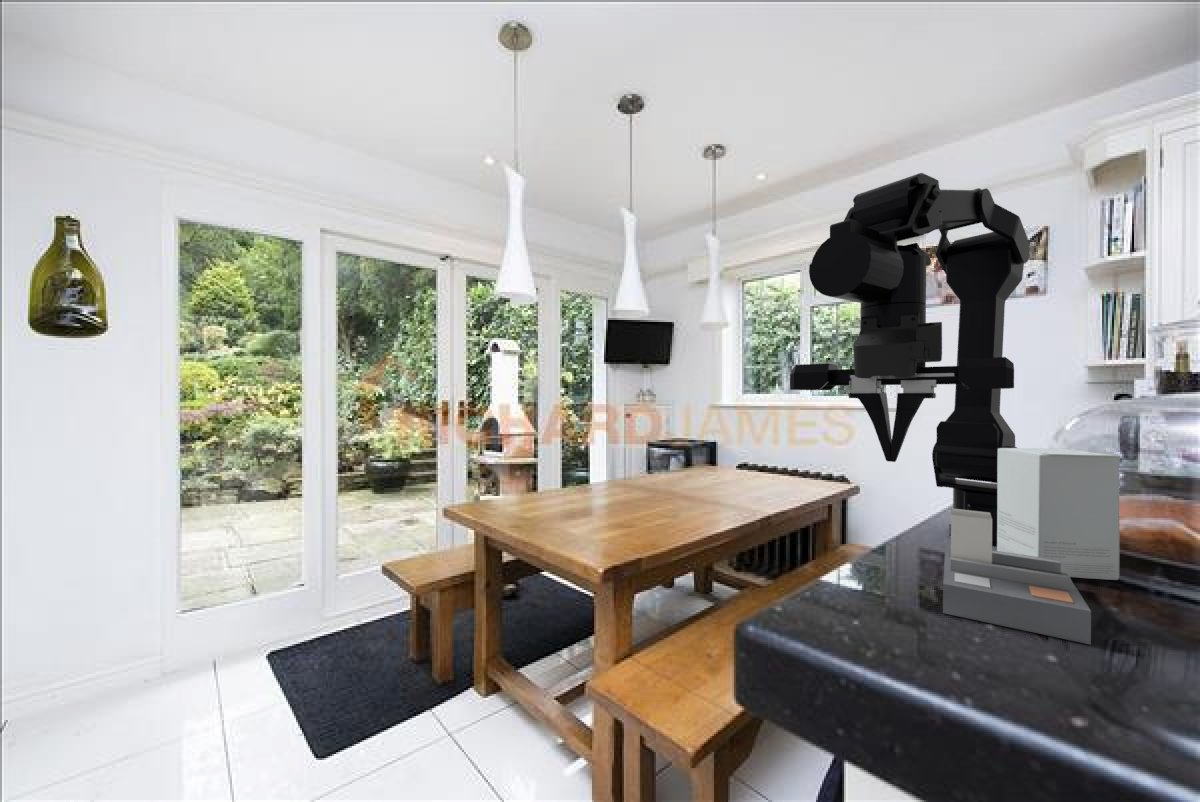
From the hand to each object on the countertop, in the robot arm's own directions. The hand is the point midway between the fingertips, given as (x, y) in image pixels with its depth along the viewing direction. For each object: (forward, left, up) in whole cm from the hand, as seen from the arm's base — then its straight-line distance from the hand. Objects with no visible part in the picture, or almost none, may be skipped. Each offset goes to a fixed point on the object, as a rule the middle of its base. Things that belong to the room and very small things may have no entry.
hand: (891, 461), depth 50 cm
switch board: (0, +9, -12) cm, 15 cm away
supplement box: (-14, +14, -12) cm, 23 cm away
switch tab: (0, +7, -9) cm, 11 cm away
